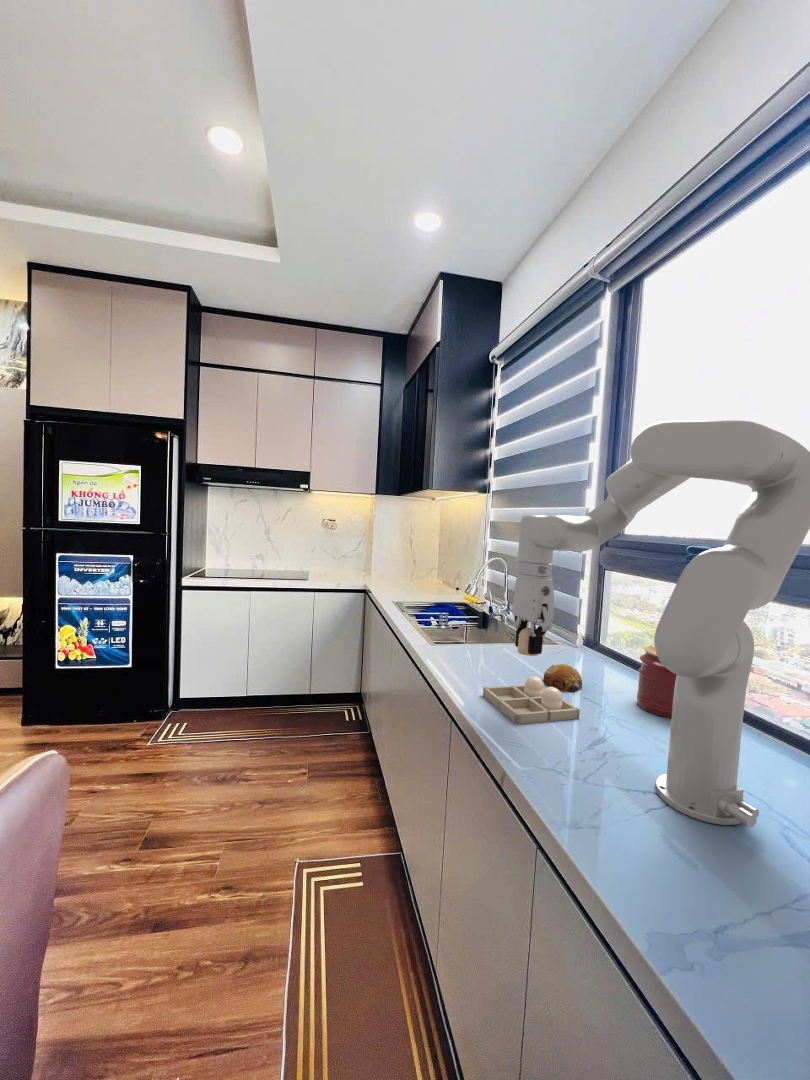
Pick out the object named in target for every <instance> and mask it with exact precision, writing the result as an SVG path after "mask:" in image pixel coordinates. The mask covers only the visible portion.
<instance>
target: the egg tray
mask: <svg viewBox="0 0 810 1080" xmlns="http://www.w3.org/2000/svg"><path fill="white" fill-rule="evenodd" d="M545 688H546V687H545V686H544V689H545ZM524 689H525V684H519V685H518V684H517V685H504V686H503V685H501V686H488V687H487V686H486V687H483V690H482V692H483V693H482V695H483V697H484V698H485V699H487V701H488V702H490V703H491V704H493V706H495V707H496V708H497V709H498V710H500V711H501V713H503V714H504V715H505V716H507V717H508V718H509V719H510V720H511V721H513V722H514V723H515V724H516V725H521V724H522V725H523V724H533V723H544V722H554V721H555V722H556V721H566V720H578V719H580V711H581V709H579V708H578V707H576V706H575V705H573V704H571V703H570V702H569V701H567V700H565V699H563V698H562V709H561V710H547V709H546V708H544V707H543V706H542V705H541V697H529V696H527V695H526V694H525V693H524Z"/></svg>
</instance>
